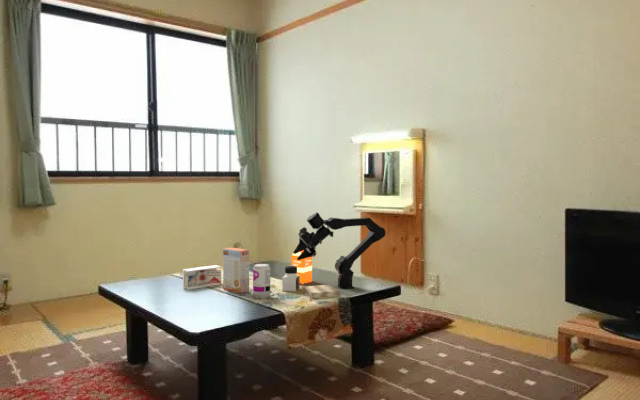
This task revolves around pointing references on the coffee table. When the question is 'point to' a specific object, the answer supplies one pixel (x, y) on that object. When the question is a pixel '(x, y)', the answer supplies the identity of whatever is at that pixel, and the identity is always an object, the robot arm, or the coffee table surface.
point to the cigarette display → (201, 277)
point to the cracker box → (236, 270)
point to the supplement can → (261, 280)
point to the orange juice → (302, 267)
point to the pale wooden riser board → (320, 291)
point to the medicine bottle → (290, 279)
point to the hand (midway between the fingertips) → (295, 256)
